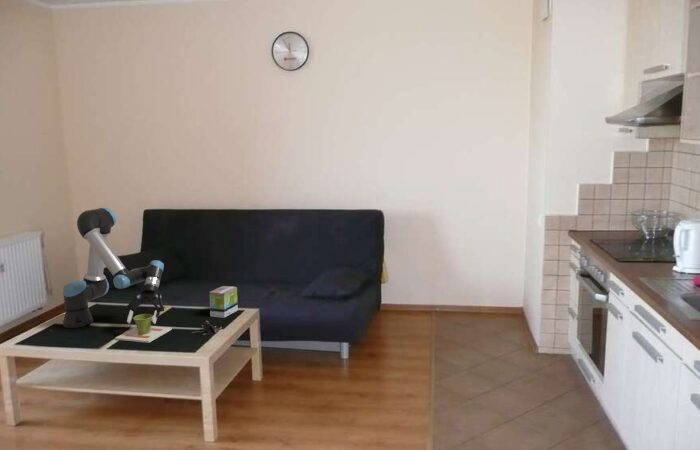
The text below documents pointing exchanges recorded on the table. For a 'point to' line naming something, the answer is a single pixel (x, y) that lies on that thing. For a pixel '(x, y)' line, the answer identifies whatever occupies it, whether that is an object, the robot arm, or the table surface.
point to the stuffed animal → (208, 328)
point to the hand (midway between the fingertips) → (141, 322)
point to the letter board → (147, 337)
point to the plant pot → (143, 323)
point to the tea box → (223, 301)
